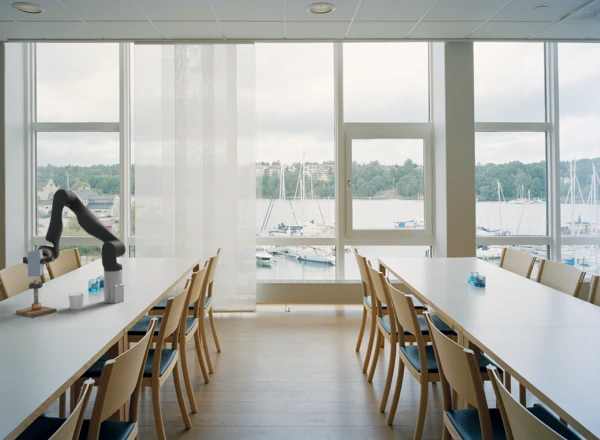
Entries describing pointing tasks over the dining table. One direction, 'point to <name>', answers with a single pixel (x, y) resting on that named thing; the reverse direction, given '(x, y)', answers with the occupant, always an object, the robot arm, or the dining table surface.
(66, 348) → the dining table surface
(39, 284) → the ring
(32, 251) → the sleeve
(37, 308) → the post stand
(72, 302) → the white cup
